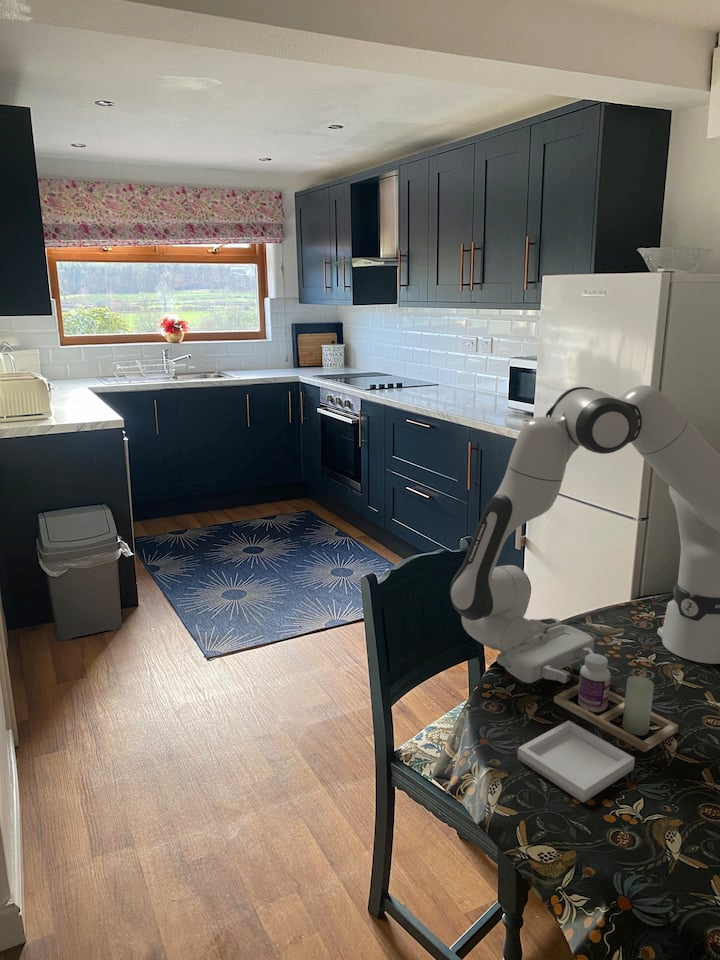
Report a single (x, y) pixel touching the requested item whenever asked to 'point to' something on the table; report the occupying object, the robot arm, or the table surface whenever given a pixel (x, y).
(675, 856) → the table surface
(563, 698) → the light wood flat frame
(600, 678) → the pill bottle
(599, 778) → the grey tray
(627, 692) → the sage vial
